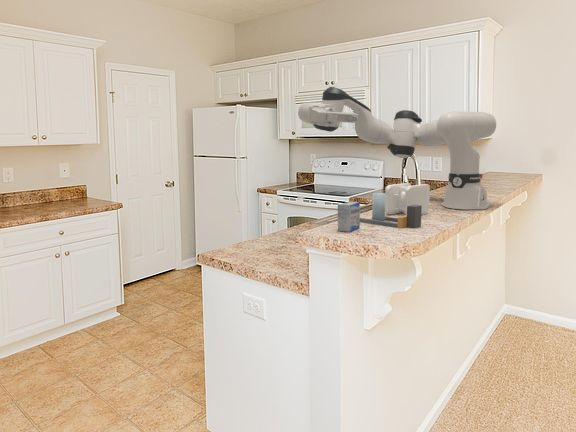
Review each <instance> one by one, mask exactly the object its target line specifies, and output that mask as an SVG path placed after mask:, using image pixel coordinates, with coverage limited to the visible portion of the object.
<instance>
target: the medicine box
mask: <svg viewBox="0 0 576 432" xmlns="http://www.w3.org/2000/svg"><path fill="white" fill-rule="evenodd" d="M360 204H361V203H360V202H358V201H346V202H344V203H343V202H342V203H340V204H337V231H338V232H346V233H351V232H354V231H355V230H357V229H359V228H360V226H361V225H360V224H361V222H360V218H361V217H360V216H361V215H360V213H361V211H360V210H361V209H360V208H361V205H360Z"/></svg>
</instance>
